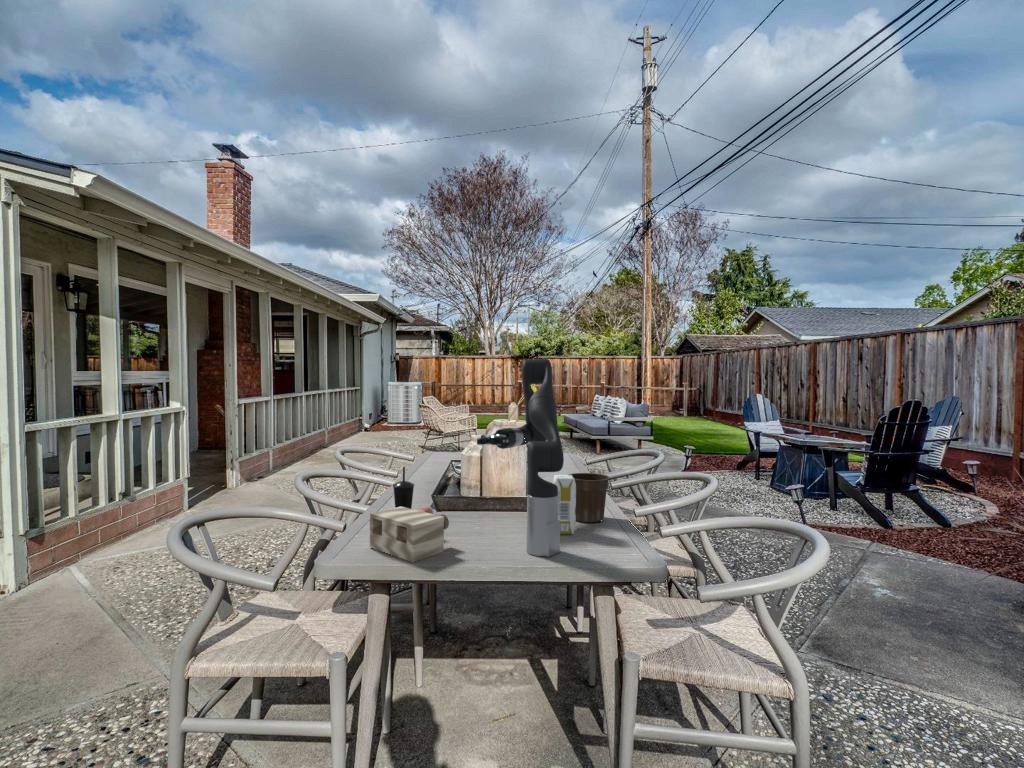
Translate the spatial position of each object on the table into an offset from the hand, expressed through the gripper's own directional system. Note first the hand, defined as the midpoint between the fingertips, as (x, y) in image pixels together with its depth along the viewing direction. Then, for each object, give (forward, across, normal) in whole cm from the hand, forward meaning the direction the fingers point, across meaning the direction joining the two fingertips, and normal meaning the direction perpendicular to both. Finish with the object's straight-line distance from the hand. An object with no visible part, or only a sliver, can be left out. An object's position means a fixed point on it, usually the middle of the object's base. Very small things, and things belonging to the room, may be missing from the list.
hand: (478, 441), depth 180 cm
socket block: (+32, 0, +30) cm, 44 cm away
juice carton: (-15, +26, +30) cm, 43 cm away
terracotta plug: (+26, -7, +25) cm, 37 cm away
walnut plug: (+29, +5, +25) cm, 39 cm away
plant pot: (-35, +24, +30) cm, 52 cm away
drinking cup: (+13, -24, +30) cm, 41 cm away
